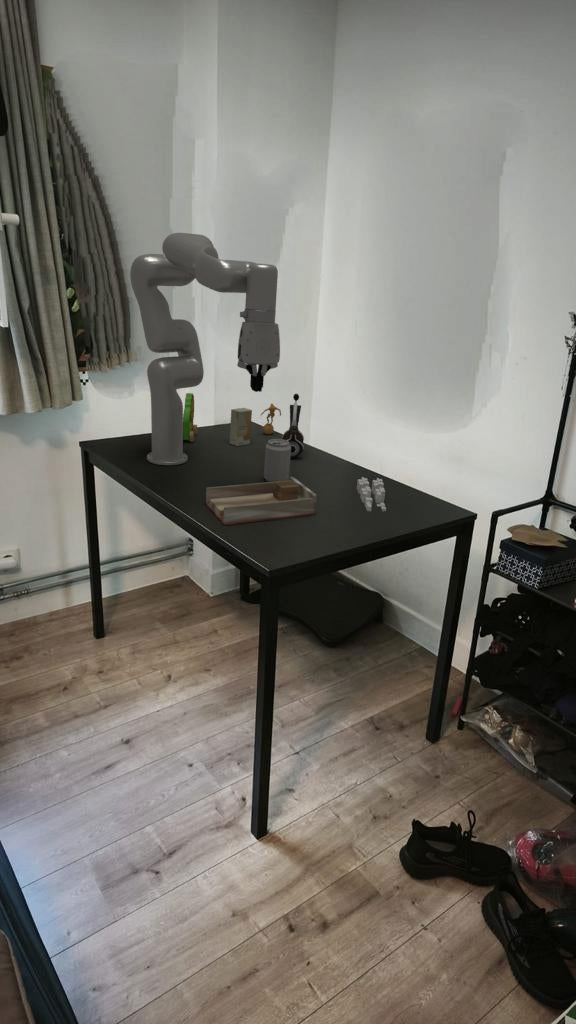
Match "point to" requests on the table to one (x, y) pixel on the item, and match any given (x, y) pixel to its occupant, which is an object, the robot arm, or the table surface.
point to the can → (277, 460)
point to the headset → (294, 430)
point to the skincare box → (240, 426)
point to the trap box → (257, 503)
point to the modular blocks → (366, 493)
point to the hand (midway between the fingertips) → (256, 390)
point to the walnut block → (285, 490)
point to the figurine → (268, 427)
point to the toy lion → (189, 418)
